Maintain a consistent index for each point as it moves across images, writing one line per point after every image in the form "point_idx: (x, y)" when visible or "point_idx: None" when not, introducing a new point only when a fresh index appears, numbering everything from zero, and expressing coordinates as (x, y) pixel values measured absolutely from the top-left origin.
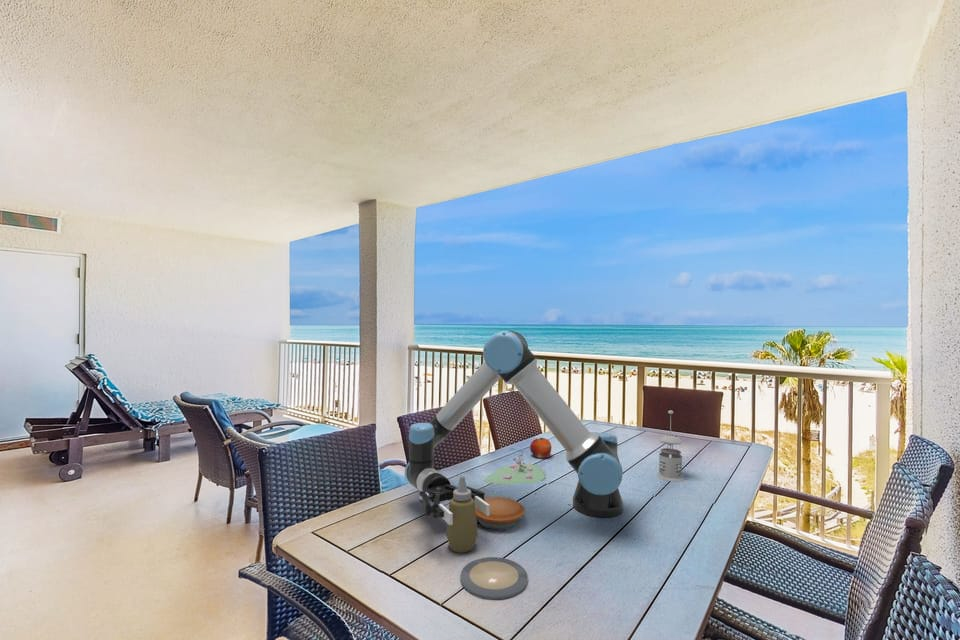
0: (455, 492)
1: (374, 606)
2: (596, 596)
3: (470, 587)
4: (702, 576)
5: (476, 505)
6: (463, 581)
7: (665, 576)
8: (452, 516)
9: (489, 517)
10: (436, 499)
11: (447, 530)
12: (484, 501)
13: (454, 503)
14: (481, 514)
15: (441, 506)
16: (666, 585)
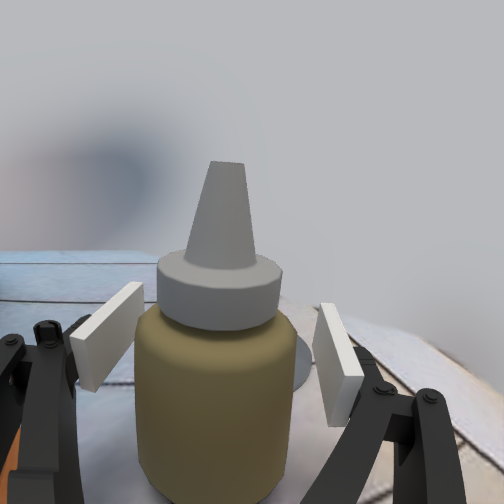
0: (272, 267)
1: (471, 377)
2: (146, 283)
3: (303, 346)
4: (43, 254)
5: (102, 367)
6: (308, 361)
7: (58, 264)
8: (318, 315)
9: (11, 448)
10: (359, 446)
11: (286, 453)
12: (113, 298)
13: (282, 315)
14: (2, 485)
15: (353, 352)
16: (76, 262)
